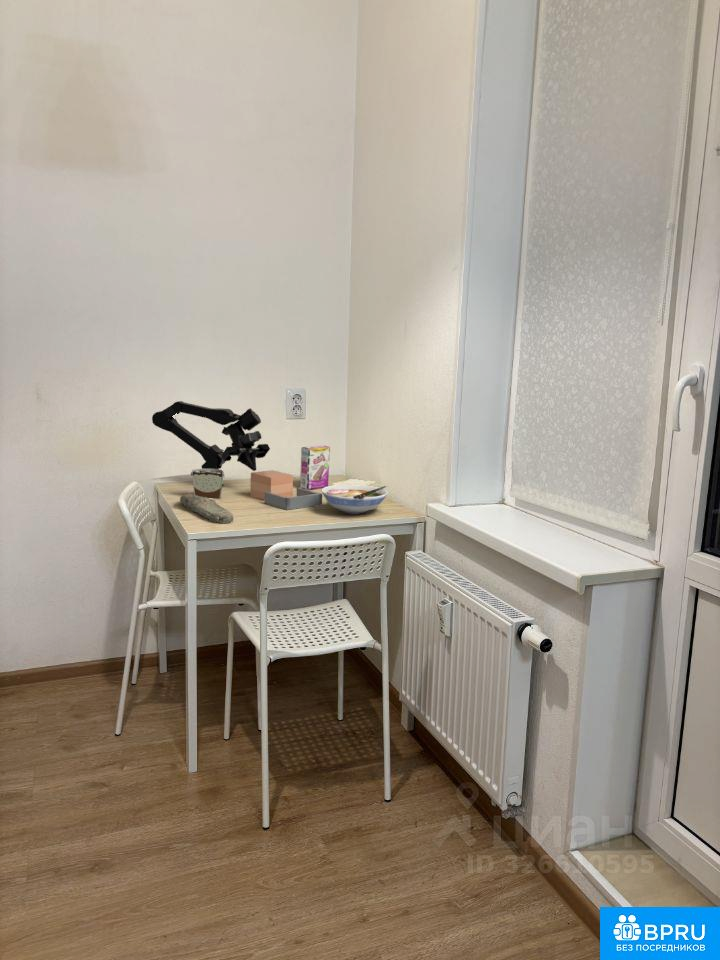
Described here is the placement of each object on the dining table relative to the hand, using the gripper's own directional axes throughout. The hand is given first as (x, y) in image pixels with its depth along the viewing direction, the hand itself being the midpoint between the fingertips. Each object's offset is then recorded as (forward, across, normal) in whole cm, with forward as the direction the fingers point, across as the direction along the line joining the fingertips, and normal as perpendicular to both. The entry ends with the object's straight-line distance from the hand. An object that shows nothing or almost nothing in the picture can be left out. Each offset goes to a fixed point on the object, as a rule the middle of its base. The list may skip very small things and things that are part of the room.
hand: (255, 470), depth 291 cm
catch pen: (+23, 0, -11) cm, 25 cm away
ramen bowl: (+38, +9, -26) cm, 47 cm away
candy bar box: (+10, +25, +2) cm, 27 cm away
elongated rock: (+19, -32, -6) cm, 38 cm away
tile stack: (+14, 0, -2) cm, 14 cm away
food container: (+5, -18, +8) cm, 20 cm away
